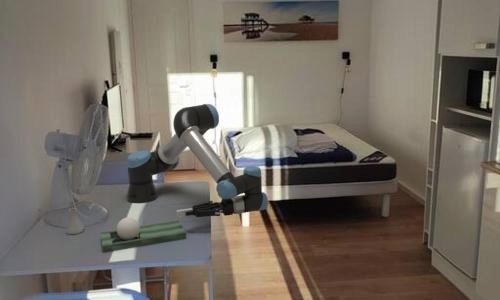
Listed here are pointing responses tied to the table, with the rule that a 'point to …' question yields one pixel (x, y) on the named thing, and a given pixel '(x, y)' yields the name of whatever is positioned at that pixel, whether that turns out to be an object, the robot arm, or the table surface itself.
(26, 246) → the table surface
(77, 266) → the table surface
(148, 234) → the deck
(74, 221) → the flask
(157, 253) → the table surface
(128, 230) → the ball
